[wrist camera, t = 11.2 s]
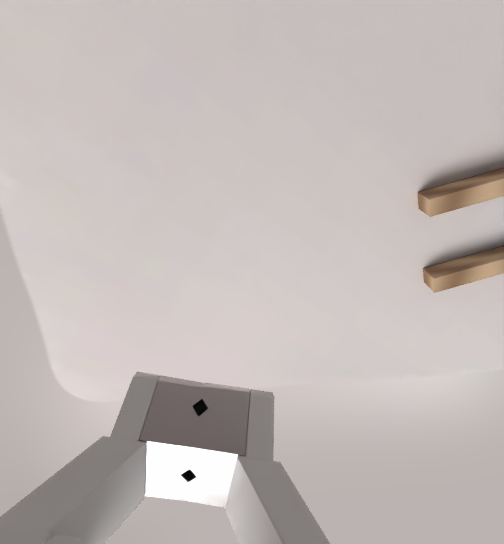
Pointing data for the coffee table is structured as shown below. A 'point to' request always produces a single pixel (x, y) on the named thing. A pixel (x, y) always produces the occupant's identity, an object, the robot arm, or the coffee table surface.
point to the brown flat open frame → (452, 199)
